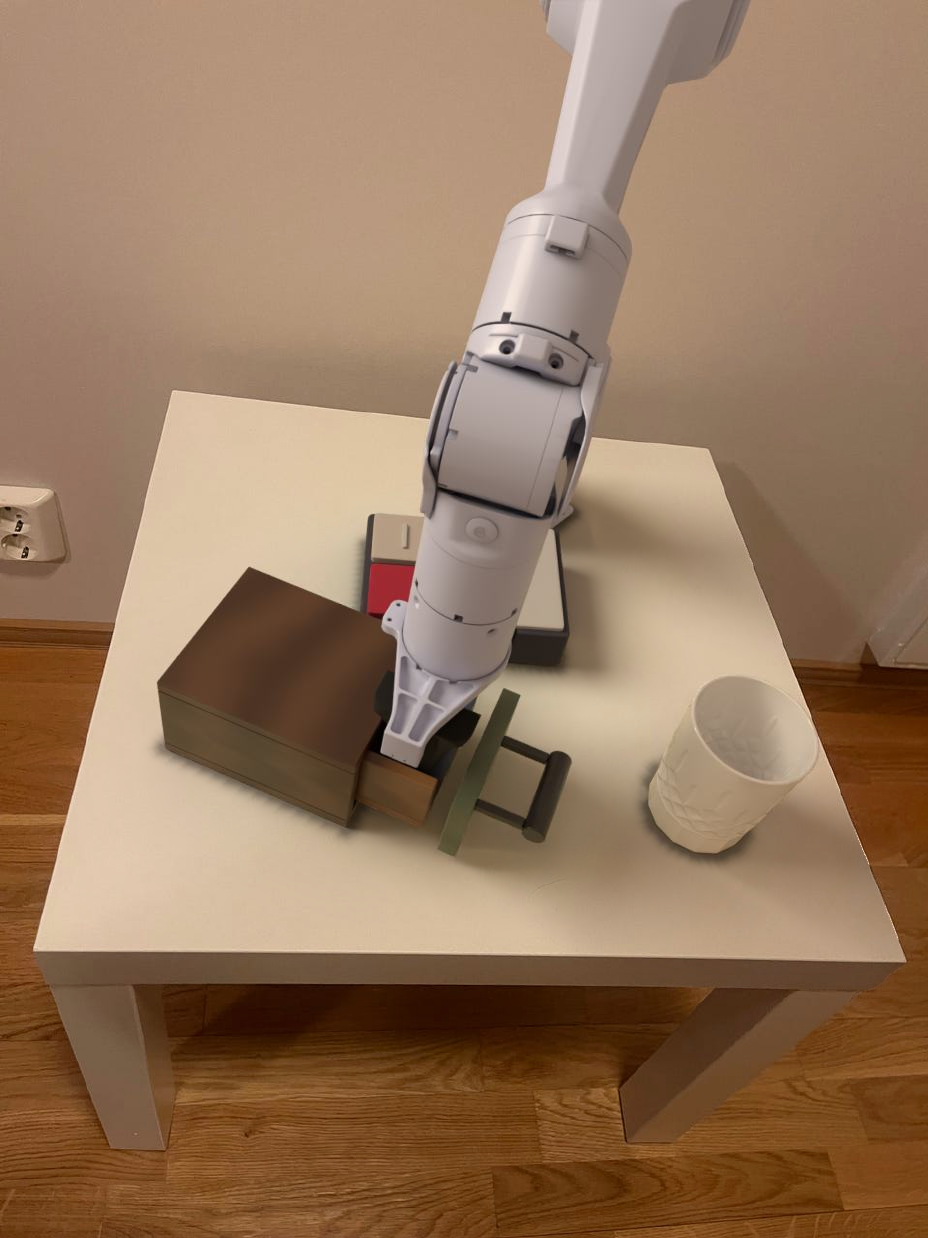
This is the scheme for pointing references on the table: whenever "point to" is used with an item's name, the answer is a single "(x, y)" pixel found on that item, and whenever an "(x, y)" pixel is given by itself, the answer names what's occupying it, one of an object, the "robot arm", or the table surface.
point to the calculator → (393, 571)
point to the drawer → (463, 783)
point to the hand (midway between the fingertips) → (430, 732)
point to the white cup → (731, 762)
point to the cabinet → (280, 693)
